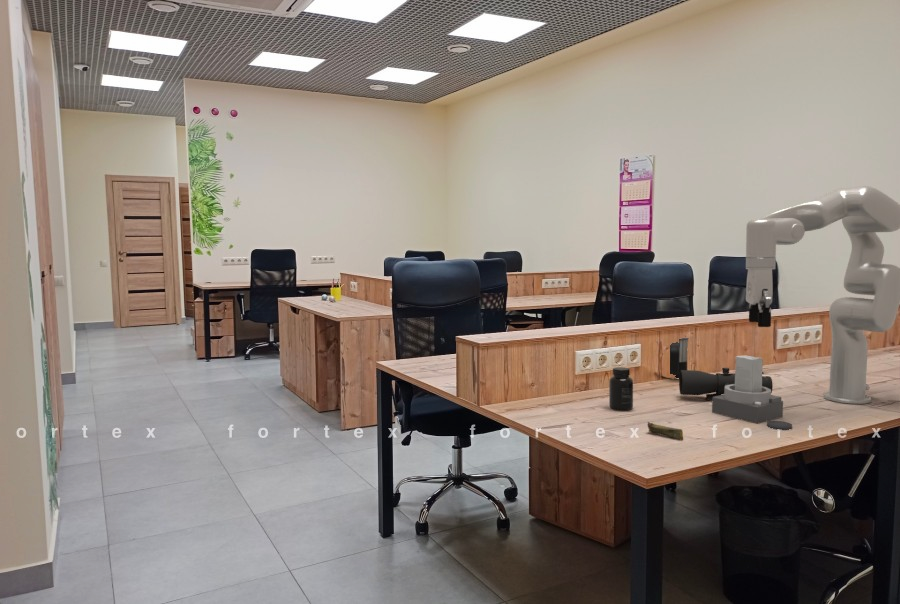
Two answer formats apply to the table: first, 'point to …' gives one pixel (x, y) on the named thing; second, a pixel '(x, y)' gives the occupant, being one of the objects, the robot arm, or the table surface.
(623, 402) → the supplement bottle
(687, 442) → the table surface
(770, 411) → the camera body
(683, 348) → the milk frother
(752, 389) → the skincare box
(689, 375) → the rifle scope
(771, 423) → the lens cap
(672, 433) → the snack bar
